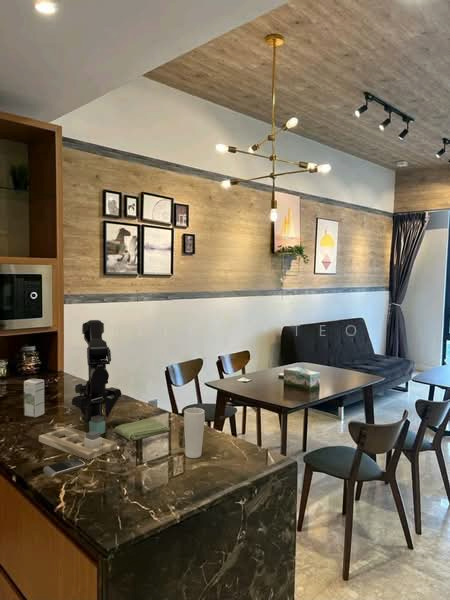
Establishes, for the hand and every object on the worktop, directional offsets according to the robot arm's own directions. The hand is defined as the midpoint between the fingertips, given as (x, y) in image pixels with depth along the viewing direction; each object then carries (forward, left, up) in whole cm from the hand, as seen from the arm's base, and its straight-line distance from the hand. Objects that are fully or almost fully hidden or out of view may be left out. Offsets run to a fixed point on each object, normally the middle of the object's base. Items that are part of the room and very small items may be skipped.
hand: (97, 419), depth 166 cm
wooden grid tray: (+12, +4, -5) cm, 14 cm away
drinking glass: (-5, +41, -5) cm, 42 cm away
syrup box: (+2, -36, -5) cm, 36 cm away
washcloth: (-11, +12, -6) cm, 17 cm away
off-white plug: (+12, +12, -5) cm, 18 cm away
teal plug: (0, 0, -5) cm, 5 cm away
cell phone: (+26, +16, -6) cm, 31 cm away
